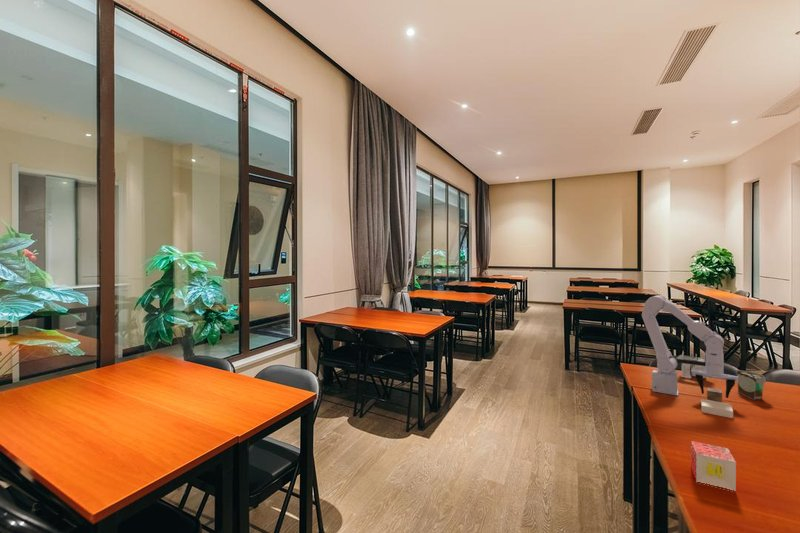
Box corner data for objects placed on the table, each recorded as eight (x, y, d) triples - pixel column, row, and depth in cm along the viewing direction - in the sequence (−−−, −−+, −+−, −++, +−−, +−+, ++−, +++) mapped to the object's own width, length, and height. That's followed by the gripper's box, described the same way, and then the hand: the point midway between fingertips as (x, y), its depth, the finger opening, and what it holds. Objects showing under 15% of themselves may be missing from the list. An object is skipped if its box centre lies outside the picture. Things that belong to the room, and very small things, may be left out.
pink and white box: (696, 482, 95) (696, 453, 95) (690, 467, 102) (691, 440, 101) (736, 492, 91) (736, 462, 90) (727, 476, 97) (728, 448, 97)
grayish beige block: (707, 402, 148) (707, 390, 148) (706, 398, 152) (706, 387, 152) (722, 405, 145) (722, 393, 145) (721, 401, 149) (721, 389, 149)
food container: (774, 402, 147) (774, 379, 147) (757, 401, 148) (757, 378, 148) (751, 392, 159) (751, 370, 159) (735, 391, 160) (735, 369, 160)
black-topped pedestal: (654, 378, 180) (654, 352, 180) (665, 367, 198) (665, 344, 198) (729, 392, 160) (729, 363, 159) (733, 379, 177) (734, 353, 177)
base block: (701, 413, 139) (701, 405, 139) (701, 405, 146) (701, 398, 146) (733, 419, 133) (733, 411, 133) (730, 411, 140) (730, 404, 140)
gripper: (692, 362, 150) (692, 393, 150) (739, 368, 141) (739, 402, 141) (692, 358, 155) (692, 389, 155) (737, 364, 146) (737, 396, 146)
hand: (714, 395), depth 148 cm, fingers open, 7 cm apart
